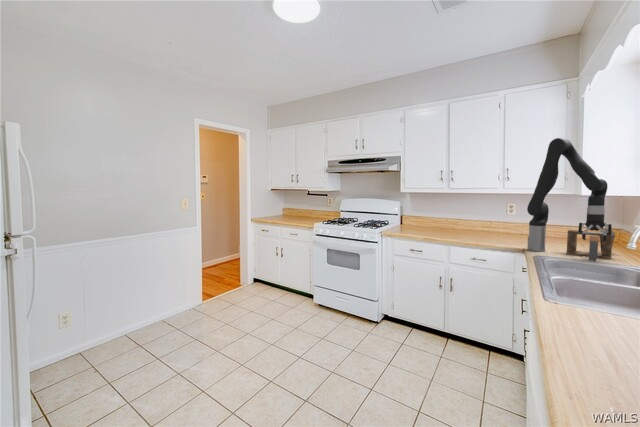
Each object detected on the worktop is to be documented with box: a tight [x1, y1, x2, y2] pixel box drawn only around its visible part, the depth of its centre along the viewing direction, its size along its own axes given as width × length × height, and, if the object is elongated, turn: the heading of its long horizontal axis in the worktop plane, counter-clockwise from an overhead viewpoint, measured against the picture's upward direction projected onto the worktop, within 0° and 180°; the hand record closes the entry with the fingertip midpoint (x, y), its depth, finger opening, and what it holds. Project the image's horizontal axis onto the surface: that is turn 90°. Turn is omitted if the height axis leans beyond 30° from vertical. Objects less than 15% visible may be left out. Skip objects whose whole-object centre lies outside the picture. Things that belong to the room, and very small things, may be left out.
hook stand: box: [565, 229, 613, 260], centre depth 180 cm, size 20×10×15 cm, turn 42°
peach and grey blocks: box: [588, 235, 600, 262], centre depth 170 cm, size 4×9×14 cm, turn 132°
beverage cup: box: [599, 221, 616, 253], centre depth 186 cm, size 7×7×20 cm
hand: (594, 240), depth 170 cm, fingers open, 8 cm apart
